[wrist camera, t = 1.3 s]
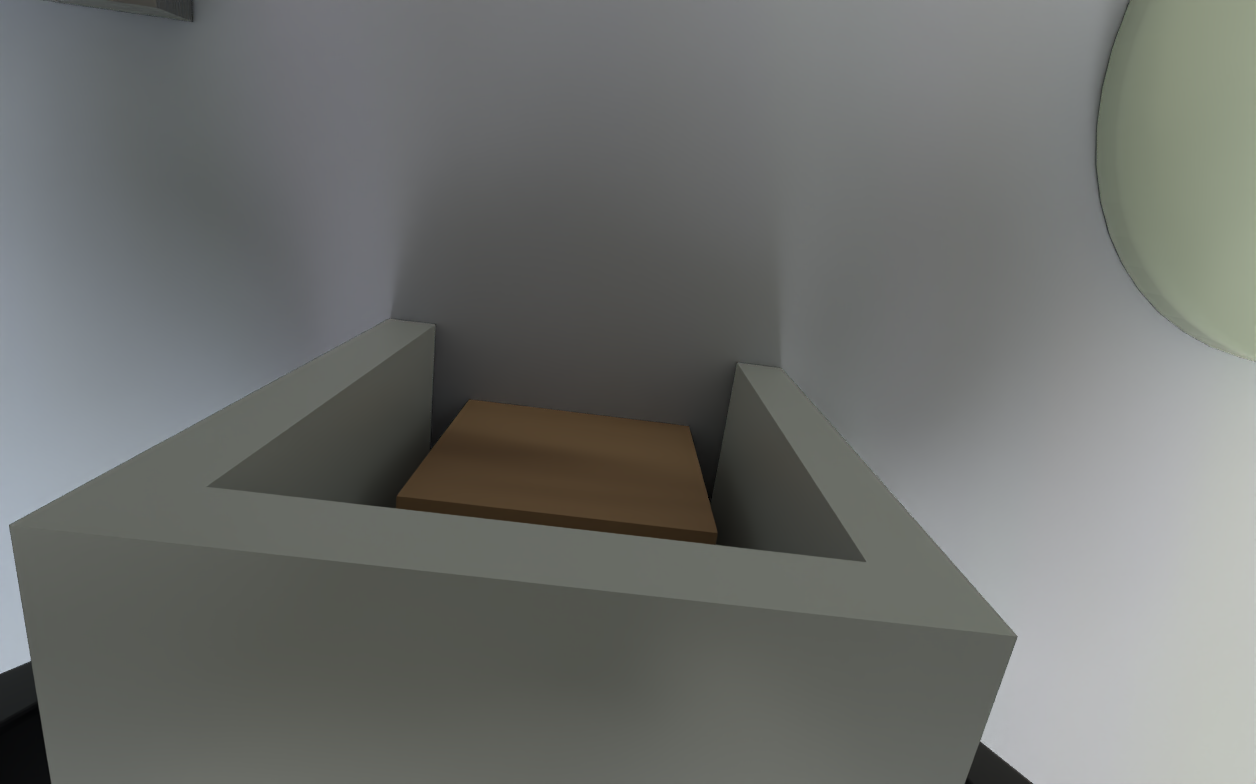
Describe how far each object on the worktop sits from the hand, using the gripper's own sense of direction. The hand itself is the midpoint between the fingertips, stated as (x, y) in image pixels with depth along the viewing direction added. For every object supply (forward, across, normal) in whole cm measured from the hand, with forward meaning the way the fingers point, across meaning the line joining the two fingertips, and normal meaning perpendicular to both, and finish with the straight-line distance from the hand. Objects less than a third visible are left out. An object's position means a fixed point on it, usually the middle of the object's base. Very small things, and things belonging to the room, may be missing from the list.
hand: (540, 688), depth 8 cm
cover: (+4, 0, 0) cm, 5 cm away
